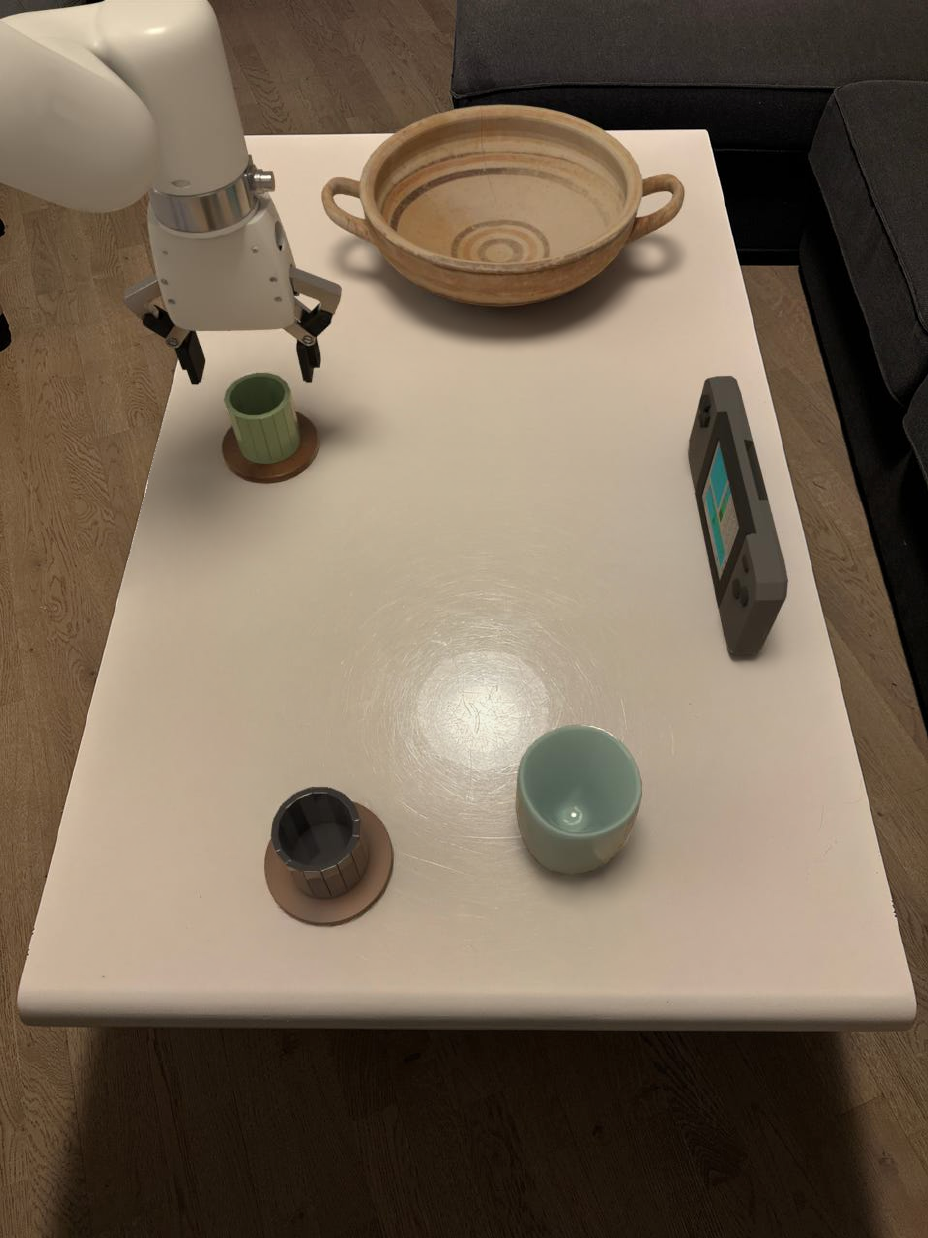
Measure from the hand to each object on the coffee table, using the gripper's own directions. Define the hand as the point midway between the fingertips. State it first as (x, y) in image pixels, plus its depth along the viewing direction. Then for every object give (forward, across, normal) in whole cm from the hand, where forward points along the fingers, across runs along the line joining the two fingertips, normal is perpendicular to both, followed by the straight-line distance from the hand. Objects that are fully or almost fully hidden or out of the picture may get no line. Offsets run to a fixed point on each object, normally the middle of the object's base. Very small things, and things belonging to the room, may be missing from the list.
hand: (254, 372), depth 81 cm
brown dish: (+9, 0, 0) cm, 9 cm away
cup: (+9, -26, +38) cm, 47 cm away
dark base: (+9, -9, +40) cm, 42 cm away
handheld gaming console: (+10, -40, +12) cm, 43 cm away
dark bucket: (+9, -9, +40) cm, 42 cm away
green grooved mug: (+9, 0, 0) cm, 9 cm away
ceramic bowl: (+10, -22, -27) cm, 36 cm away
